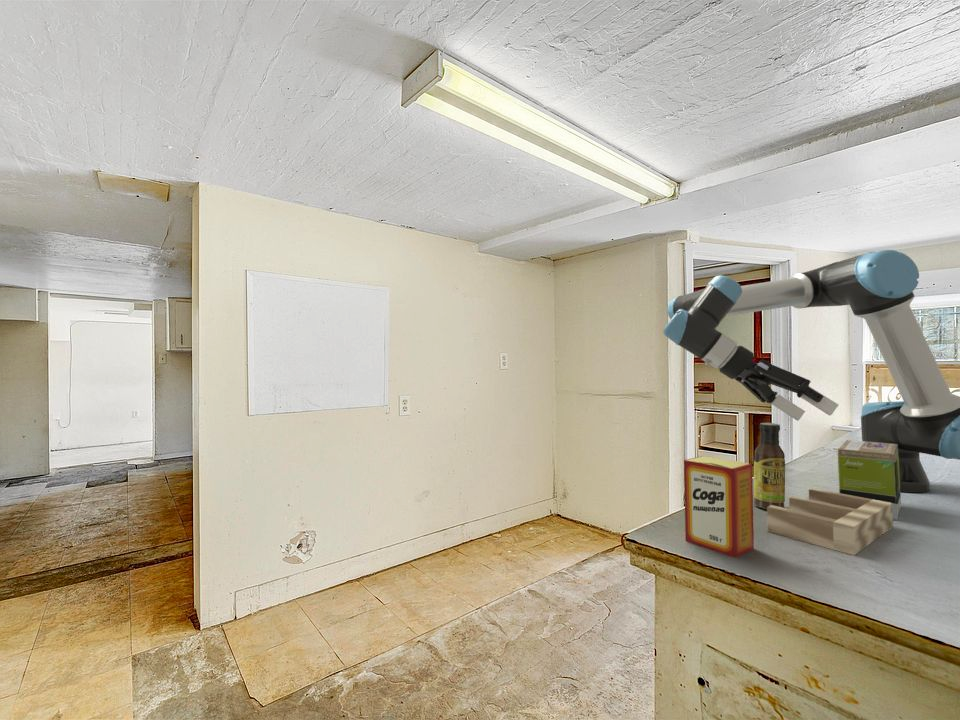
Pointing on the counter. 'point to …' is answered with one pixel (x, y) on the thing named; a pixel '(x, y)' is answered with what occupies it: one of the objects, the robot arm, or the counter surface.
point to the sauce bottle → (769, 468)
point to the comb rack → (832, 520)
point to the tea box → (870, 472)
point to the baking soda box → (719, 504)
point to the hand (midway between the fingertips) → (816, 413)
